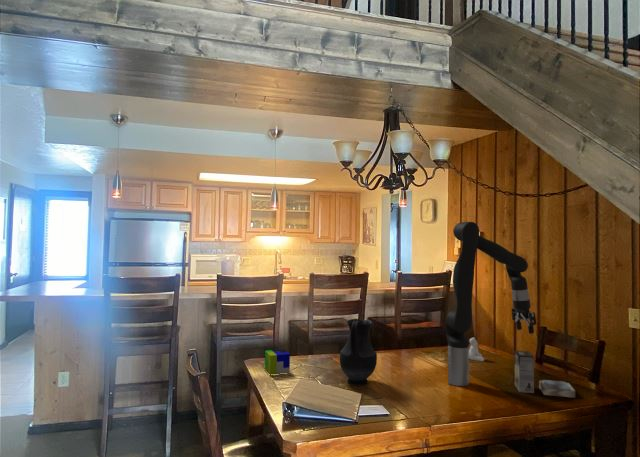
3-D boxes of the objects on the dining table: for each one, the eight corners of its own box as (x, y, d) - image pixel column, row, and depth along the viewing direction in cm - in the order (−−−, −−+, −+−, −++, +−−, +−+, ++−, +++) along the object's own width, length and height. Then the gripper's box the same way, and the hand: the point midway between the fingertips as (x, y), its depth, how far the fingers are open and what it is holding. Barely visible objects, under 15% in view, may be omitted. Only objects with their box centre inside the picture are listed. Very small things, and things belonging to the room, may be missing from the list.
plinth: (544, 395, 185) (544, 387, 185) (538, 386, 196) (538, 379, 196) (575, 398, 182) (575, 390, 182) (568, 389, 192) (568, 382, 192)
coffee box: (514, 385, 198) (513, 350, 198) (529, 386, 196) (528, 350, 197) (519, 392, 189) (518, 355, 189) (534, 393, 187) (534, 356, 188)
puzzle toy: (289, 374, 213) (289, 353, 214) (270, 376, 210) (270, 355, 210) (283, 368, 223) (283, 349, 223) (264, 370, 219) (265, 350, 219)
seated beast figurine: (484, 362, 235) (484, 339, 236) (468, 361, 237) (468, 339, 237) (481, 357, 245) (481, 336, 245) (465, 356, 246) (465, 335, 246)
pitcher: (379, 378, 207) (379, 315, 208) (372, 393, 187) (372, 323, 188) (343, 375, 212) (344, 313, 213) (333, 389, 192) (334, 321, 193)
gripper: (504, 297, 215) (509, 329, 215) (524, 301, 201) (528, 336, 201) (518, 295, 216) (522, 327, 216) (538, 299, 202) (542, 333, 202)
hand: (525, 331), depth 209 cm, fingers open, 8 cm apart
